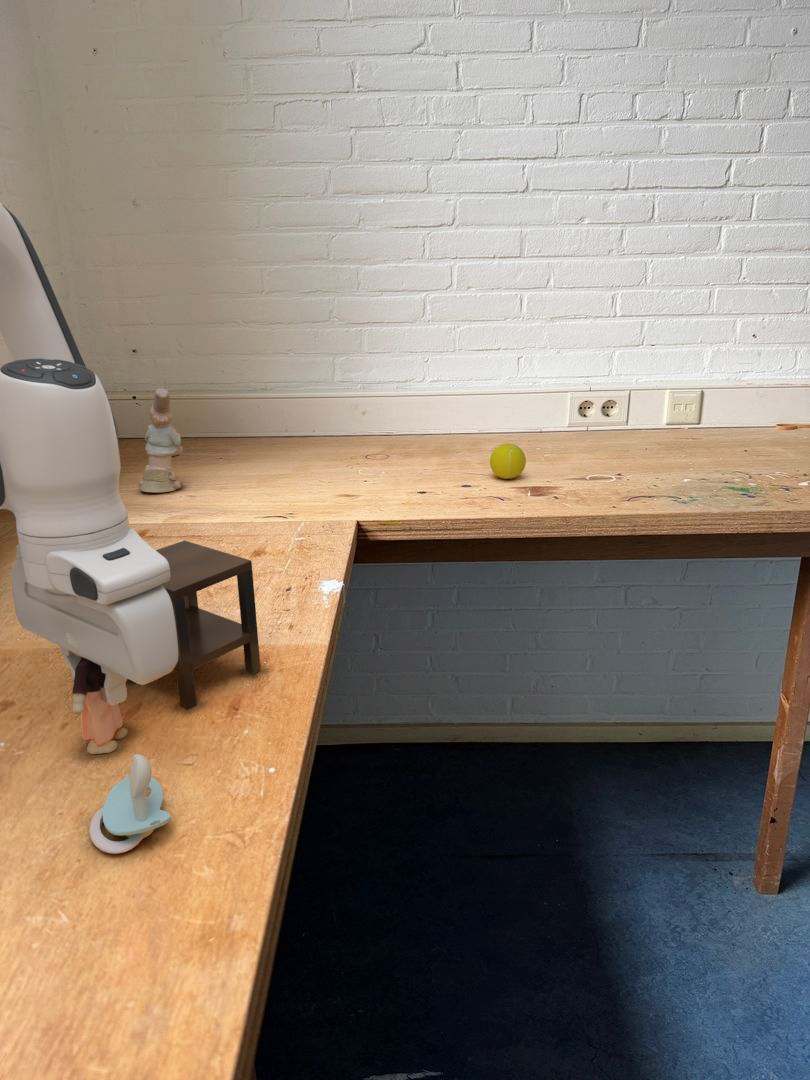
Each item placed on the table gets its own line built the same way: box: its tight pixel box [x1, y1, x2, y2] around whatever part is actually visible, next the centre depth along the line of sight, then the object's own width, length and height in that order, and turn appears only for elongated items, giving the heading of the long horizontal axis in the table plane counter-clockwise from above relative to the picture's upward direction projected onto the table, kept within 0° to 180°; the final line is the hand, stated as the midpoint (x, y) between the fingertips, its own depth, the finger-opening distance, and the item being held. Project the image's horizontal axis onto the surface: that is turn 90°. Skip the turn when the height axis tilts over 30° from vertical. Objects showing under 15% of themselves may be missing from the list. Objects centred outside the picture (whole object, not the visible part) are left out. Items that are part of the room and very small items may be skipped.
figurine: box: [138, 387, 184, 494], centre depth 155 cm, size 9×8×20 cm
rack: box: [126, 539, 262, 711], centre depth 85 cm, size 11×10×13 cm
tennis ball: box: [489, 443, 527, 480], centre depth 161 cm, size 7×7×7 cm
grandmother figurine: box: [66, 632, 129, 755], centre depth 73 cm, size 8×4×13 cm, turn 3°
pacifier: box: [88, 753, 171, 855], centre depth 63 cm, size 7×6×6 cm
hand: (101, 694), depth 73 cm, fingers closed on grandmother figurine, 3 cm apart
